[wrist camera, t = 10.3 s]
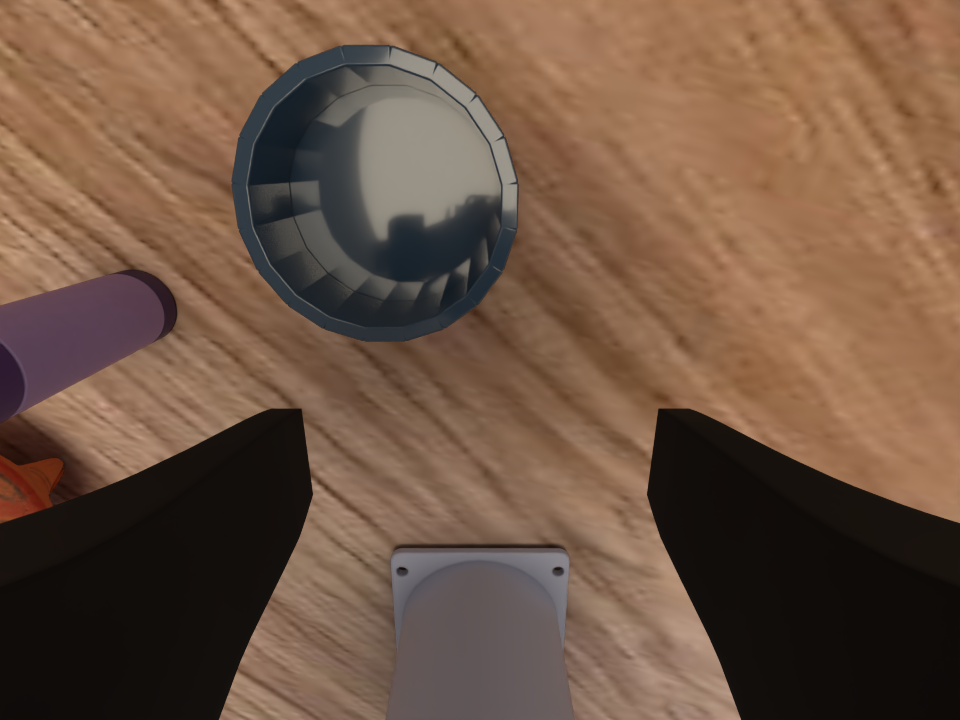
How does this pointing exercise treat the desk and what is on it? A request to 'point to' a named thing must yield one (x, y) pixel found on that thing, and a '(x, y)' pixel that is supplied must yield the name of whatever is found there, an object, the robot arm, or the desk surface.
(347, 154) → the desk cup
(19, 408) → the glue stick
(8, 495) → the pot
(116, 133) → the desk surface
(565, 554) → the robot arm
